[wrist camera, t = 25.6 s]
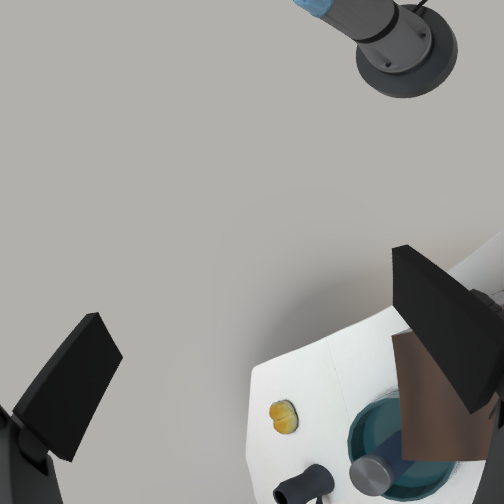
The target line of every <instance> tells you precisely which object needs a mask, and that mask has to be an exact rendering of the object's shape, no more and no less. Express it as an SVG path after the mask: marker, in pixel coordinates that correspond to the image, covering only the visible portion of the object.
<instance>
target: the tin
mask: <svg viewBox="0 0 504 504" xmlns="http://www.w3.org/2000/svg"><path fill="white" fill-rule="evenodd" d="M415 462H416V461H414V460H402V430H399V431H397V432H396V433H395V434H393V435H392V436H391V437H389V438H388V439H387V440H386V441H384V442H383V443H382V444H380V445H379V446H378V447H376V448H375V449H374V450H372V451H371V452H369V453H368V454H367V455H364V456H362V457H360V458H359V459H357V460H356V461H354V462H353V463H352V465H351V467H350V471H349V474H350V479H351V481H352V483H353V485H354V486H355V488H356V489H357V490H359V491H360V492H361V493H363V494H365V495H368V496H379V495H381V494H383V493H385V492H386V491H387V490H388V489H389V488H390V487H391V486H392V484H393V483H394V482H395V481H396V480H398V479H399V478H400V477H401V476H402V475H403V474H404V473H405V472H406V471H407V470H408V469H409V468H410V467H411V466H412V465H413V464H414V463H415Z"/></svg>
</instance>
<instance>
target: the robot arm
mask: <svg viewBox="0 0 504 504" xmlns="http://www.w3.org/2000/svg"><path fill="white" fill-rule="evenodd" d="M293 1H294V2H295V3H296V4H297V5H298V6H300V7H302V8H303V9H305V10H306V11H308V12H310V13H311V15H313V16H314V17H318V18H320V19H321V20H323V21H325V22H326V23H328V24H330V25H331V26H333V27H334V28H336V29H338V30H339V31H341V32H342V33H344V34H345V35H347V36H348V37H350V38H351V39H352V40H354V41H355V42H356V43H357V44H358V46H359V47H360V49H361V50H362V52H363V53H364V55H365V56H366V58H367V59H368V61H369V62H370V63H371V64H372V65H373V66H374V67H376V68H377V69H378V70H380V71H381V72H383V73H385V74H389V75H404V74H408V73H411V72H413V71H415V70H417V69H418V68H420V67H421V66H422V65H423V64H424V63H425V62H426V61H427V60H428V59H429V57H430V56H431V54H432V51H433V48H434V36H433V33H432V31H431V29H430V27H429V26H428V25H427V24H426V23H425V21H424V20H423V19H422V18H420V17H419V16H418V15H416V14H415V12H416V11H417V10H418V9H419V8H420V7H421V6H422V5H423V4H424V3H425V2H426V1H427V0H422V1H421V2H420V3H419V4H418V5H417V6H416V7H415V8H414V9H413V10H412V11H409V10H407V9H405V8H404V7H402V6H400V5H398V4H396V3H395V2H394V1H393V0H293ZM392 262H393V306H394V308H395V309H396V310H397V311H398V313H399V314H400V315H401V316H402V318H403V319H404V320H405V322H406V323H407V324H408V325H409V327H410V328H411V329H412V331H413V332H414V333H415V335H416V336H417V337H418V339H419V340H420V341H421V343H422V344H423V345H424V347H425V348H426V349H427V351H428V352H429V354H430V355H431V356H432V358H433V359H434V360H435V362H436V363H437V365H438V366H439V368H440V369H441V370H442V372H443V373H444V375H445V376H446V378H447V379H448V381H449V382H450V384H451V385H452V387H453V388H454V390H455V391H456V393H457V394H458V396H459V397H460V399H461V400H462V402H463V404H464V405H465V407H466V408H467V410H468V411H469V413H470V415H471V414H473V413H475V412H476V411H478V410H479V409H481V408H483V407H484V406H486V405H487V404H488V403H489V402H490V400H491V398H492V396H493V394H494V392H495V391H496V393H497V394H498V396H499V399H498V401H497V403H496V404H495V406H494V408H493V409H492V411H491V413H490V415H489V418H488V419H491V418H492V417H493V415H494V413H495V412H496V413H495V420H494V426H493V432H492V437H491V442H490V447H489V451H488V455H487V459H486V463H485V467H484V470H483V474H482V477H481V480H480V483H479V486H478V489H477V492H476V495H475V498H474V501H473V503H472V504H504V310H503V309H502V307H501V306H500V305H499V304H497V303H495V301H494V300H493V299H491V298H490V297H489V296H488V295H486V294H485V293H482V292H480V291H477V290H475V289H472V290H470V291H469V290H468V289H467V288H465V287H464V286H463V285H462V284H460V283H459V282H458V281H456V280H455V279H454V278H453V277H451V276H450V275H449V274H447V273H446V272H445V271H443V270H442V269H441V268H439V267H438V266H437V265H435V264H434V263H432V262H431V261H430V260H429V259H427V258H426V257H424V256H423V255H422V254H420V253H419V252H417V251H416V250H415V249H413V248H412V247H410V246H409V245H403V246H400V247H396V248H392ZM122 359H123V356H122V355H121V353H120V351H119V350H118V348H117V346H116V345H115V343H114V341H113V339H112V337H111V335H110V334H109V332H108V330H107V328H106V326H105V324H104V323H103V321H102V319H101V317H100V315H99V313H98V312H96V313H90V314H86V316H85V317H84V318H83V319H82V320H81V322H80V323H79V324H78V325H77V326H76V327H75V328H74V330H73V331H72V332H71V333H70V335H69V336H68V337H67V338H66V339H65V341H64V342H63V343H62V344H61V345H60V347H59V348H58V349H57V350H56V352H55V353H54V354H53V356H52V357H51V358H50V359H49V361H48V362H47V363H46V364H45V366H44V367H43V368H42V370H41V371H40V372H39V374H38V375H37V376H36V378H35V379H34V381H33V382H32V383H31V385H30V386H29V387H28V389H27V390H26V392H25V393H24V394H23V396H22V397H21V399H20V400H19V402H18V403H17V405H16V406H15V407H14V409H13V411H12V412H13V415H12V416H11V417H10V416H9V415H8V413H7V412H6V411H5V410H4V409H3V407H2V406H1V405H0V504H63V501H62V498H61V494H60V490H59V486H58V482H57V478H56V474H55V470H54V465H53V460H52V458H51V457H50V456H49V455H48V454H47V453H48V451H49V450H50V451H51V452H53V453H54V454H55V455H56V456H57V457H58V458H60V459H63V460H66V461H69V462H72V460H73V458H74V456H75V453H76V451H77V449H78V447H79V445H80V442H81V440H82V438H83V436H84V434H85V431H86V429H87V427H88V425H89V423H90V421H91V419H92V417H93V414H94V412H95V411H96V409H97V406H98V405H99V403H100V400H101V399H102V397H103V395H104V393H105V391H106V389H107V387H108V385H109V383H110V381H111V379H112V377H113V375H114V373H115V372H116V370H117V368H118V366H119V364H120V362H121V360H122Z"/></svg>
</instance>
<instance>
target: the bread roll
mask: <svg viewBox="0 0 504 504" xmlns="http://www.w3.org/2000/svg"><path fill="white" fill-rule="evenodd" d="M269 414H270V417H271V418H272V419H273V420H274V423H273V425H274V428H275V430H276V431H277V432H279V433H281V434H290V433H292V432H294V430H295V429H296V427H297V423H298V421H297V416H296V414H295V413H294V408H293V406H292V405H291V404H290V403H289V402H288V401H286V400H282V401H278V402H275V403H272V405H271V407H270V412H269Z"/></svg>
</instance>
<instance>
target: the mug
mask: <svg viewBox="0 0 504 504" xmlns="http://www.w3.org/2000/svg"><path fill="white" fill-rule="evenodd" d="M333 489H334V480H333V477H332V475H331V474H330V472H329V471H328V470H327V469H326V468H324V467H323V466H321V465H318V464H313V465H311V466H310V467H308V468H307V469H306V470H305V471H304V472H303V473H302V474H300V475H298V476H296V477H293V478H290V479H288V480H286V481H283V482H281V483H280V484H279V486H278V487H277V488H276V489H274V491H273V496H274V499H275V501H276V502H277V504H306V503H307V502H308V501H310V500H312V499H314V498H316V497H317V501H316V504H323V502H322V495H325V494H328V493H331V492H332V491H333Z"/></svg>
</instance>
